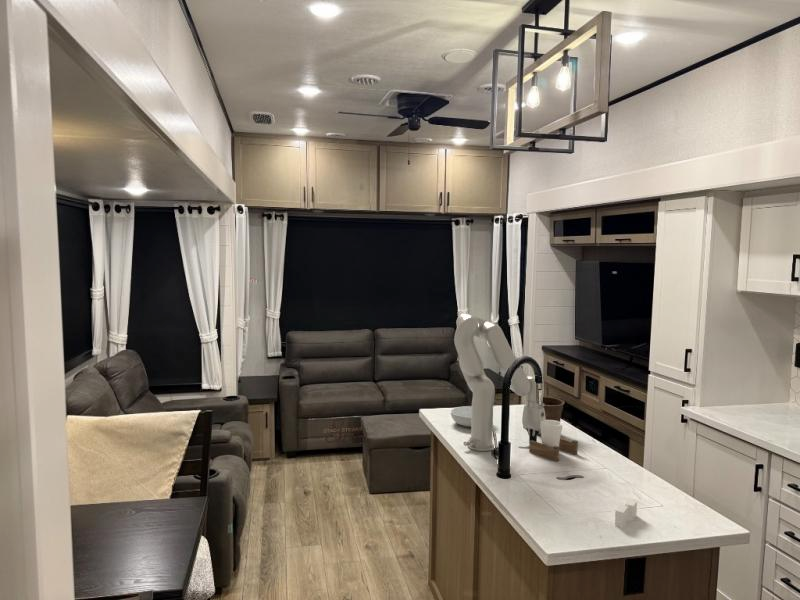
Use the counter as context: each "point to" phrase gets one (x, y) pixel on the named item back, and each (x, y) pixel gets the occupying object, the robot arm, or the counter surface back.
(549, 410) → the plant pot
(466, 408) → the serving bowl
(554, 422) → the foam cup
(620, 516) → the napkin holder
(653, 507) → the counter surface
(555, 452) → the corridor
